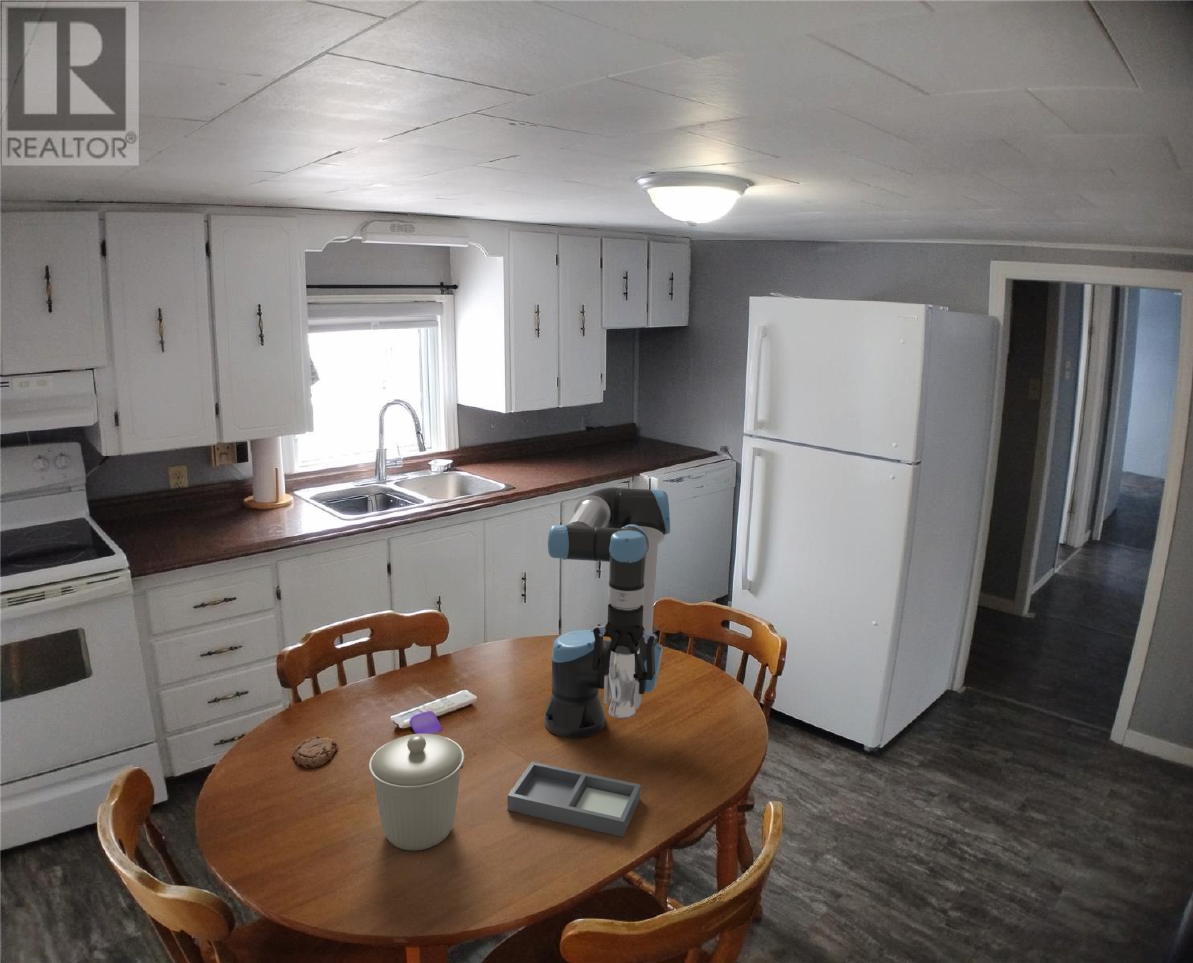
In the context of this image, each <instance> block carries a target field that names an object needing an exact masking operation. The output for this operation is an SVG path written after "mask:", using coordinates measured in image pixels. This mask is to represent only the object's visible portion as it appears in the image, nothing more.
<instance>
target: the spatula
mask: <svg viewBox="0 0 1193 963" xmlns="http://www.w3.org/2000/svg"><path fill="white" fill-rule="evenodd" d="M409 725H410V726H411V729H412V730H413V732H414V734H436V733H439V732H442V730H443V727H442V725H441V723H440V722H439V720H438V717H437V715H436V714H435V712H434V711H433V710H427V711H424V712H419V713H417V714H415V715H413V716H412V717H410V718H409Z"/></svg>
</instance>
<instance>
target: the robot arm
mask: <svg viewBox="0 0 1193 963" xmlns="http://www.w3.org/2000/svg"><path fill="white" fill-rule="evenodd" d="M573 512H574V513H573V516H572V517H571V518H570V519H569V521H568V523H567V524H553V525H552V526H550V529H549V532H548V536H547V537H548V538H547V551H548V555H549V556H550V557H551V558H553V559H562V560H563V561H564V560H575V561H576V560H577V561H590V562H591V561H593V562H605V563H607V562H608V563H609V565H608V566H609V570H608V571H609V576H608V577H609V579H608V594H607V595H608V597H607V598H608V599H607V600H608V603H609V604H608V605H607V622H606V624H605V625H601V624H596V626H595V627H594V629H591V630H590V629H576V630H570V631H568V632H566V633H565V632H564V633H562V634H561V635H559V636H557V638H556V639H555V640H554V642H553V643H552V644H553V645H552V652H551V653H552V654H551V695H550V697H549V699H548V703H547V705H546V708H545V711H544V714H543V716H544V721H543V723H544V726H545V728H546V729H547V730H548V732H550V733H551V734H553V735H556V736H558V737H561V738H562V737H563V738H566V739H582V738H588V737H591V736H594V735H596V734H598V733H599V732H601V731H602V730H603V729H604V726H605V720H606V713H605V710H604V707H603V705H602V701H601V699H600V694H599V691H600V690H603V704H605V705H607V704H609V702H610V686H609V680H608V656H609V648H611V650H612V651H614V652H615V650H616V647H617V646H625V647H628V648H629V650H630V652H631V654H632V653H635V652H636V653H637V651H638V650H639V648H640V652H639V654H637V675H638V680H636V681H635V697H634V709H636V710H639V708H640V706H641V704H642V695H644V694H645V693H650V692H652V691H654V690H655V689H656V686H657V682H658V679H659V674H660V668H661V662H662V655H663V651H664V650H663V645H662V644H660V643H658V636H657V633H656V632H653V623H654V622H653V621H654V608H655V606H654V605H655V592H656V577H657V565H658V563H657V562H658V550H659V549H658V548H659V545H660V544H661V543H662V542H663V541H664V540H665V535H669V534H670V533H671V519H670V518H671V517H670V516H671V515H670V504H669V496H668V494H667V492H666V491H664V490H659V489H658V490H657V489H653V488H650V489H647V488H645V489H644V488H643V489H642V488H628V487H627V488H626V487H613V486H611V487H605V488H600V489H597V490H594V491H591V492H589V493H587V494H586V495H584V496H583V497H581V498H580V500H578V502H577V503H576V504H575V507H574V511H573ZM606 633H607V635H608V636H609V638H610V640H606V639H605V640H604V635H605V634H606Z"/></svg>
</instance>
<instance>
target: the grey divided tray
mask: <svg viewBox="0 0 1193 963" xmlns="http://www.w3.org/2000/svg"><path fill="white" fill-rule="evenodd" d="M640 800H641V784H639V783H633V782H630V781H626V780H620V779H615V778H611V777H606V776H603V775H602V776H601V775H597V774H592V773H588V772H582V771H577V770H574V769H568V768H564V767H560V766H554V765H550V764H544V763H541V762H535V761H531V762H530V763H529V764H528V766H527V768H525V770H524V771H523V773H522V774H521V776H520V777H519V779H518V780H517V782H516V783H515V784H514V786H513V787H512V788H511V790H510V791H509V793H508V794H507V811H511V812H514V813H518V814H522V815H527V816H531V817H535V818H540V819H544V820H548V821H552V822H557V823H561V824H565V825H569V826H574V827H578V828H583V829H587V830H592V831H594V832H595V831H596V832H599V833H603V834H609V835H611V836H616V837H621V838H624V837H625V834H626V831H627V830H628V827H629V825H630V823H631V820H632V818H633V817H634V816H633V815H634V813H635V812H636V809H637V807H638V805H639V802H640Z"/></svg>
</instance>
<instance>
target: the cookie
mask: <svg viewBox="0 0 1193 963" xmlns="http://www.w3.org/2000/svg"><path fill="white" fill-rule="evenodd" d="M338 749H339V745H338V742H336V740H334V739H333V738H329V737H322V736H321V735H315V736H311V737H309V738H307V739H304V740H302V741H301V742H299V743H298V745H296V746H295V748H293V750H292V752H291V754H292V756H293V758H294V759H295V760H294V762H295V763H296V765H298V766H301V767H303V768H305V769H309V768H311V769H314V768H318V767H321V766H323V765H325V764H326V763H328V761H331V759H332V758H333V756H334V754H335V752H337V751H338Z"/></svg>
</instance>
